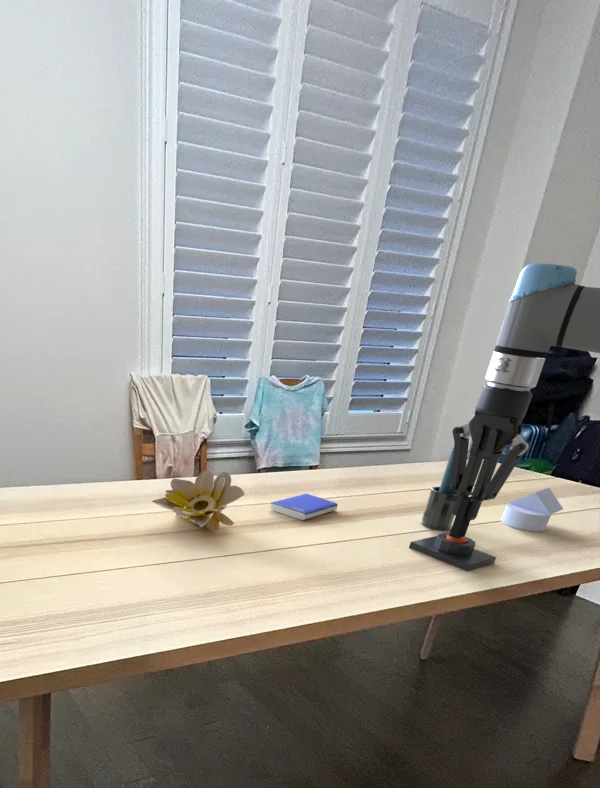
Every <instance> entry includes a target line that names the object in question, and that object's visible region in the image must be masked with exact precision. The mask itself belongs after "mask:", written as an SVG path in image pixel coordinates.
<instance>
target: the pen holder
mask: <svg viewBox="0 0 600 788" xmlns="http://www.w3.org/2000/svg"><path fill="white" fill-rule="evenodd" d="M439 489H440V486H431V488H430V492H429V495H428V498H427V500H426V501H427V502H426V505H425V508H424V510H423V514H422V518H421V521H420V525H422V526H423V527H424V528H427V529H430V530H434V531H441V532H448V531H451V528H452V525H453V522H454V520H455V517H456V515H453V509H454V506H455V503H456V500H457V493H456V492H455V494H454V495H453V494H446V493H441V492H439Z"/></svg>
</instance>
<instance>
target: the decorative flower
mask: <svg viewBox="0 0 600 788" xmlns="http://www.w3.org/2000/svg"><path fill="white" fill-rule="evenodd" d="M169 484H170V488H171V489H165V493H166V494H165V495H164V496H165V497H162V498H157V499H153V500H151V502H152V503H154V504H156V505H158V506H159V507H162V508H163V509H165V510H169V511H173V513H174V515H175V517H179V518H183V517H186V521H189V520H190V521H189V522H190V523H192V522H193V521H194V522H195V524H197V525H198V526H199V527H200V528H203V527H204V526H205V527H206V528H207V529H208V530H209V531H211V532H216V531H218V530H219V529H220V524H222V525H225V526H233V525H235V522H234V521H233V520H232V519H230V517H228V516H227V515H226V514H224V513H223V511H224V510H225V509H226V508H227V507H228V505H229V504H231V503H233V502H235V501H237V500H239V499H240V498H242V497H245V495H246V494H245V491H244V490H243V489H242V488H241V487H240V486H238V485H232V476H231V475H230V474H229V473H228V472H225V471H223V472H220V473H219V474H217V476H216V477H215V476H214V470H211V469H205V470H202V471H201V472H200V473H199V474H198V475H197V477H196V478H195V481H194V482H193V481H191V480H186V479H180V478H173V479H171V481H170V483H169Z"/></svg>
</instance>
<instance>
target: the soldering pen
mask: <svg viewBox="0 0 600 788" xmlns="http://www.w3.org/2000/svg"><path fill="white" fill-rule="evenodd" d="M453 452H454V447H452V448H451V450H450V454H449V457H448V461H447V463H446V467H445V470H444V473H443V475H442V476H443V477H442V479H441V482H440V486H439V487H440V489H439V492H441V493H446V494H453V495H454V494H455V491H454V490H451V489H450V478H451V470H452V461H453Z"/></svg>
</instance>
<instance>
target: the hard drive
mask: <svg viewBox="0 0 600 788" xmlns="http://www.w3.org/2000/svg"><path fill="white" fill-rule="evenodd" d="M269 509H270V510H271V511H273V512H277V513H280V514H282V515H284V516H285V515H286V516H288V517H291V518H294V519H298V520H300V521H305V520H309V519H311V518H315V517H318V516H321V515H324V514H327V513H331V512H334V511H337V510H338V503H337V502H336V501H335V502H334V501H332V500H329V499H325V498H322V497H319V496H316V495H313V494H309V493H302V494H299V495H295V496H291V497H287V498H283V499H279V500H274V501H272V502H270V505H269Z"/></svg>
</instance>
